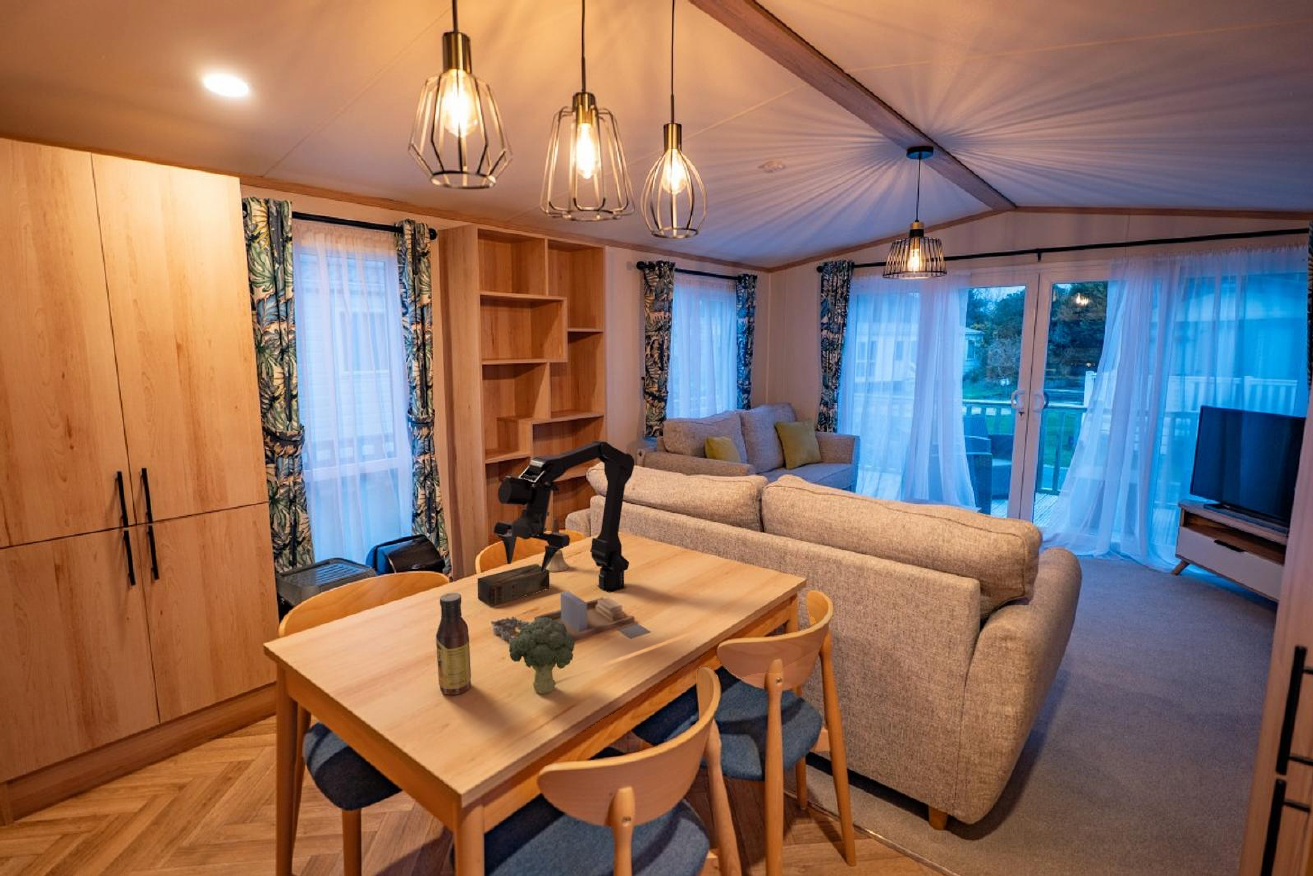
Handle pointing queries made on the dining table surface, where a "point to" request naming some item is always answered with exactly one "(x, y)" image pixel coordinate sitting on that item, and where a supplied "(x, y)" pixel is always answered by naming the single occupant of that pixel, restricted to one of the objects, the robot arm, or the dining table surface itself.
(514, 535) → the robot arm
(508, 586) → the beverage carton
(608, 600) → the offcut upper
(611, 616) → the offcut lower
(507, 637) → the grey lumpy clump
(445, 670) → the sauce bottle
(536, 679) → the vegetable
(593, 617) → the tray
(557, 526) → the hand bell
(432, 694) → the dining table surface
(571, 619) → the board
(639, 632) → the mat
